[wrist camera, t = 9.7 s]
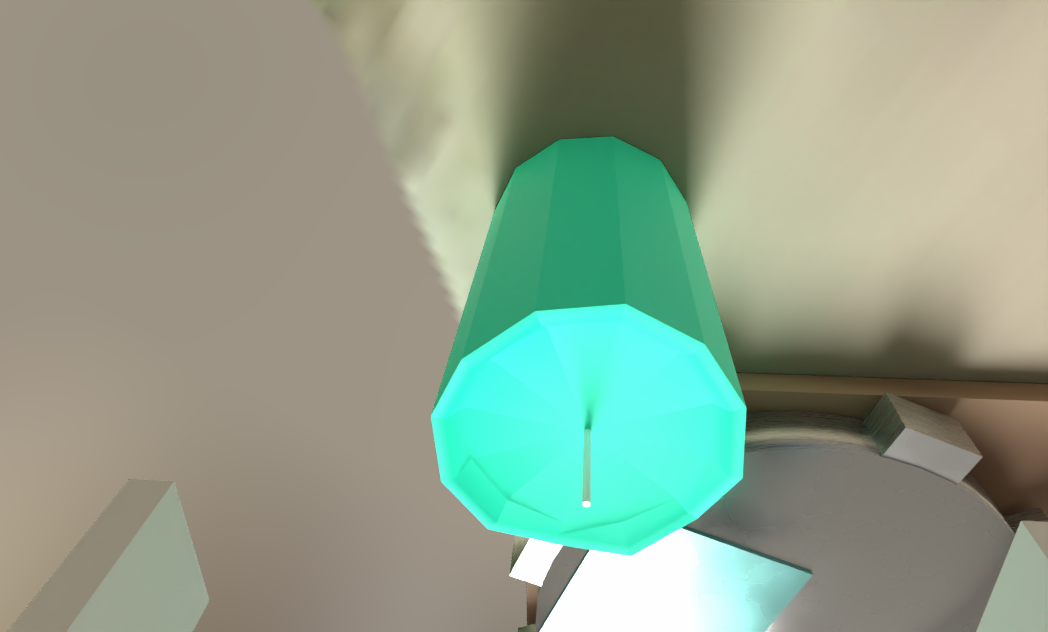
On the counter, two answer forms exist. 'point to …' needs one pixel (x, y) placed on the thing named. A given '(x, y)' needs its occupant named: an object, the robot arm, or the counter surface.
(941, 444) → the turntable
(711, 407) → the candle
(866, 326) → the counter surface
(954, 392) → the base board
